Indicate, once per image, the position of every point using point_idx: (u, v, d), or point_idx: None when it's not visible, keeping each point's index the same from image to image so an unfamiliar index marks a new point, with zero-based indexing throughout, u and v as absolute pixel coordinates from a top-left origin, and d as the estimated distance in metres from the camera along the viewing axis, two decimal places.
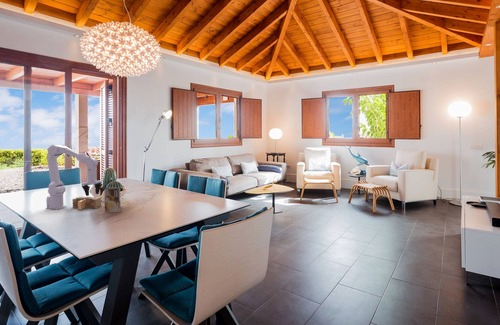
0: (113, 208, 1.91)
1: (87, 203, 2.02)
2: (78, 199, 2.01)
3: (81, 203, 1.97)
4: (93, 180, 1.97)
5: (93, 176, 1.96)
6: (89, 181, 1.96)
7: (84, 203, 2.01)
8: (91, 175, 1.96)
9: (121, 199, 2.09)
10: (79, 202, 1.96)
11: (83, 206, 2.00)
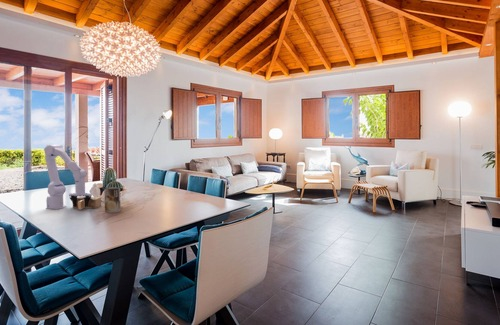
0: (113, 208, 1.91)
1: None
2: (78, 199, 2.01)
3: (81, 203, 1.97)
4: (76, 192, 1.94)
5: (76, 188, 1.94)
6: None
7: (84, 203, 2.01)
8: (78, 187, 1.94)
9: (121, 199, 2.09)
10: (79, 202, 1.96)
11: (83, 206, 2.00)
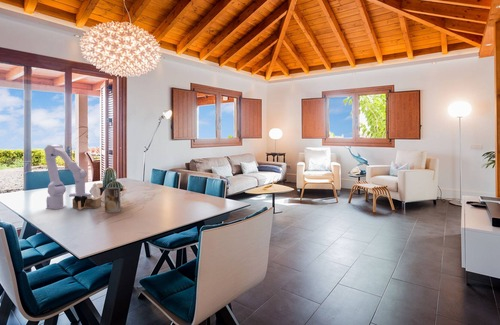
0: (113, 208, 1.91)
1: (87, 203, 2.02)
2: None
3: None
4: (76, 192, 1.94)
5: (76, 188, 1.94)
6: None
7: None
8: (78, 187, 1.94)
9: (121, 199, 2.09)
10: (79, 202, 1.96)
11: None
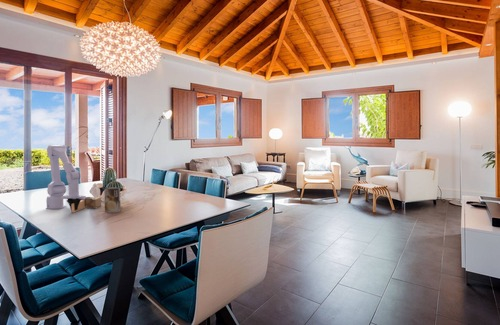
0: (113, 208, 1.91)
1: (87, 203, 2.02)
2: None
3: None
4: (69, 194, 1.87)
5: (69, 190, 1.87)
6: None
7: (78, 205, 1.93)
8: (70, 189, 1.86)
9: (121, 199, 2.09)
10: (72, 204, 1.89)
11: (77, 209, 1.92)
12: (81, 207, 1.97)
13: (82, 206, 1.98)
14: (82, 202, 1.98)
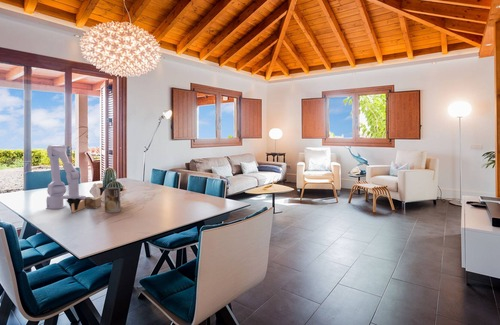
0: (113, 208, 1.91)
1: (87, 203, 2.02)
2: None
3: None
4: (69, 194, 1.87)
5: (69, 190, 1.87)
6: None
7: (78, 205, 1.93)
8: (70, 189, 1.86)
9: (121, 199, 2.09)
10: (72, 204, 1.89)
11: (77, 209, 1.92)
12: (81, 207, 1.97)
13: (82, 206, 1.98)
14: (82, 202, 1.98)
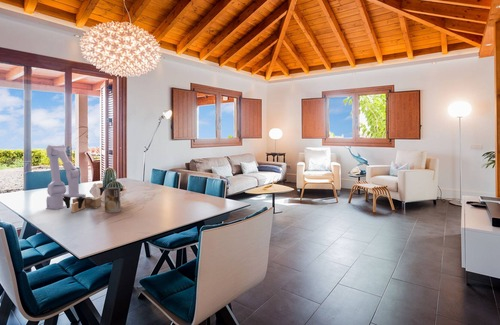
0: (113, 208, 1.91)
1: (87, 203, 2.02)
2: None
3: (75, 206, 1.90)
4: (69, 193, 1.87)
5: (69, 189, 1.87)
6: None
7: None
8: (70, 188, 1.86)
9: (121, 199, 2.09)
10: (72, 204, 1.89)
11: (77, 209, 1.92)
12: (81, 207, 1.97)
13: (82, 206, 1.98)
14: None
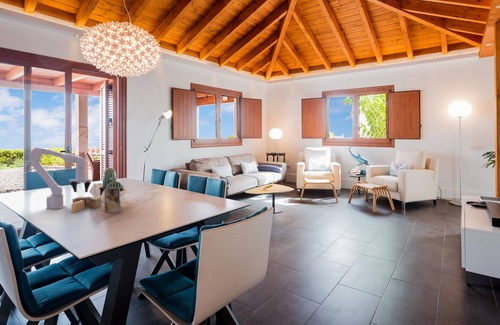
0: (113, 208, 1.91)
1: (87, 203, 2.02)
2: (78, 199, 2.01)
3: (75, 206, 1.90)
4: (77, 178, 2.04)
5: (77, 174, 2.04)
6: (76, 178, 2.06)
7: (78, 205, 1.93)
8: (82, 173, 2.05)
9: (121, 199, 2.09)
10: (72, 204, 1.89)
11: (77, 209, 1.92)
12: (81, 207, 1.97)
13: (82, 206, 1.98)
14: (82, 202, 1.98)
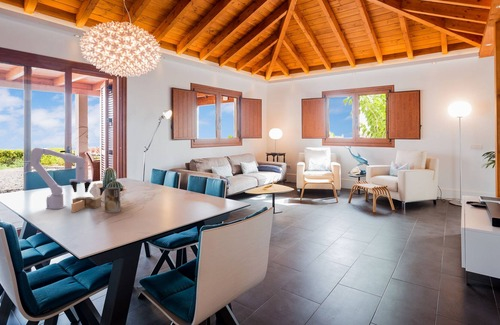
0: (113, 208, 1.91)
1: (87, 203, 2.02)
2: (78, 199, 2.01)
3: (75, 206, 1.90)
4: (77, 178, 2.05)
5: (77, 174, 2.04)
6: (76, 178, 2.06)
7: (78, 205, 1.93)
8: (82, 173, 2.05)
9: (121, 199, 2.09)
10: (72, 204, 1.89)
11: (77, 209, 1.92)
12: (81, 207, 1.97)
13: (82, 206, 1.98)
14: (82, 202, 1.98)
